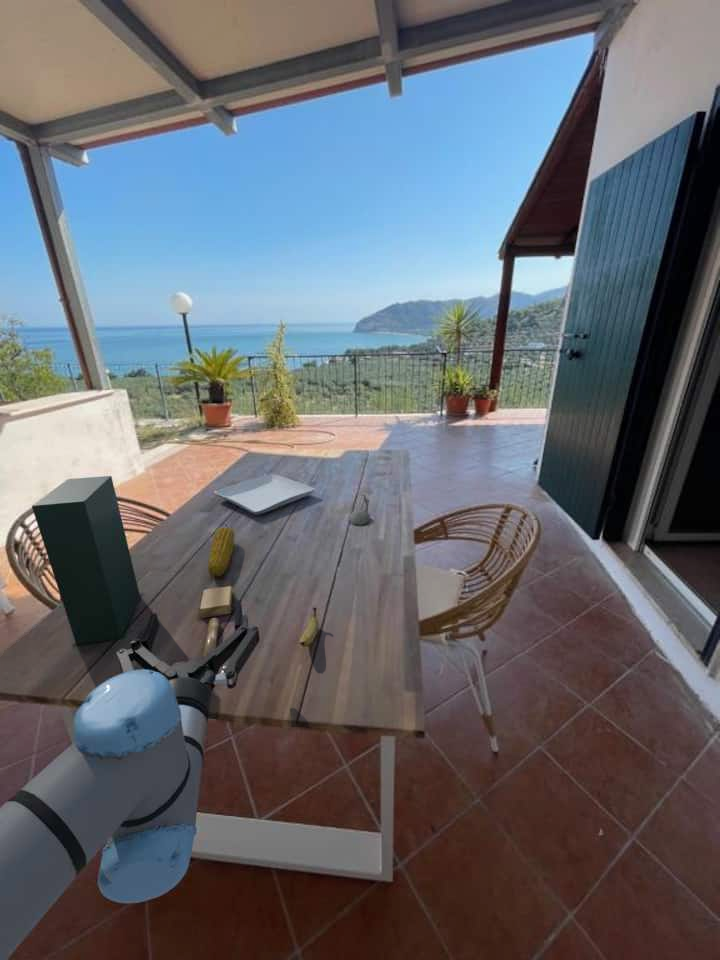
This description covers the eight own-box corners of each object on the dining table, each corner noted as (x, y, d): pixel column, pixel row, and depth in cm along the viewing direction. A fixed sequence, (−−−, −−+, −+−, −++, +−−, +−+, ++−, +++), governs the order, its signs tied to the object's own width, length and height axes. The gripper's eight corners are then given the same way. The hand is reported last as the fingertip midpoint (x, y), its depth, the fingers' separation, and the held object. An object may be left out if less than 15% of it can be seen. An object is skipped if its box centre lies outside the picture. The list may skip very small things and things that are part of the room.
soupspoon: (348, 526, 126) (368, 528, 125) (348, 517, 124) (368, 519, 124) (356, 498, 146) (373, 499, 145) (356, 490, 145) (373, 491, 144)
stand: (76, 645, 77) (31, 505, 66) (101, 601, 89) (67, 479, 79) (121, 637, 78) (84, 501, 68) (140, 595, 91) (111, 475, 81)
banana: (309, 659, 73) (308, 642, 71) (297, 658, 73) (295, 641, 72) (321, 622, 82) (320, 607, 81) (310, 621, 83) (309, 606, 81)
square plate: (213, 500, 145) (212, 490, 144) (272, 481, 164) (272, 472, 163) (256, 521, 128) (255, 510, 127) (317, 496, 148) (316, 487, 146)
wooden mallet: (189, 679, 69) (187, 668, 68) (205, 598, 90) (203, 589, 89) (224, 672, 70) (223, 662, 69) (232, 594, 92) (231, 585, 91)
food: (216, 542, 115) (213, 524, 113) (236, 540, 116) (233, 522, 114) (207, 583, 96) (203, 562, 94) (230, 580, 97) (228, 559, 95)
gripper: (276, 679, 49) (270, 583, 69) (50, 726, 44) (112, 607, 63) (280, 722, 52) (273, 618, 71) (67, 771, 46) (122, 643, 65)
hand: (198, 613), depth 67 cm, fingers open, 13 cm apart
